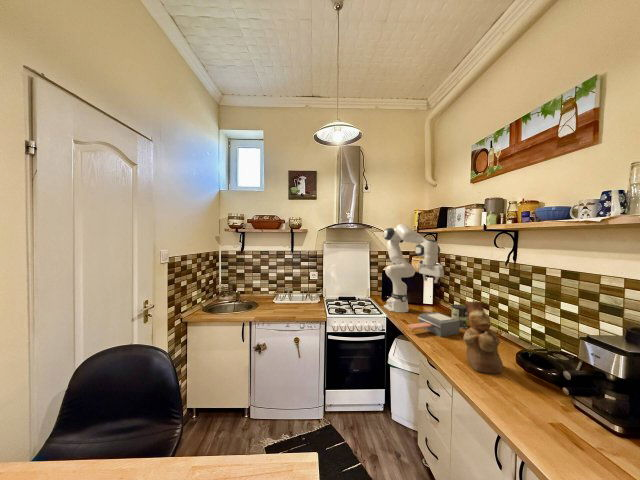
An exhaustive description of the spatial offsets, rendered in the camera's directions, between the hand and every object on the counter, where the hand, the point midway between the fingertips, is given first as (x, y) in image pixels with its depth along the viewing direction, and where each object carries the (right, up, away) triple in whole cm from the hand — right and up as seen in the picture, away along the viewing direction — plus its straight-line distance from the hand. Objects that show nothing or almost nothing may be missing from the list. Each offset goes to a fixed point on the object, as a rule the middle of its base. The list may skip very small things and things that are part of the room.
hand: (430, 281), depth 176 cm
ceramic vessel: (+2, -33, -52) cm, 61 cm away
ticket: (-11, -27, -13) cm, 32 cm away
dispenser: (+2, -31, -8) cm, 32 cm away
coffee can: (+20, -32, 0) cm, 37 cm away
